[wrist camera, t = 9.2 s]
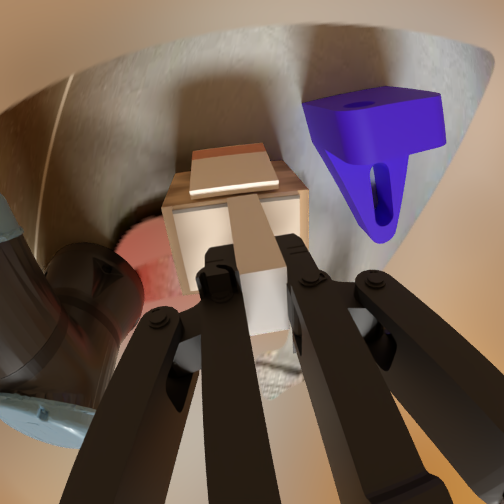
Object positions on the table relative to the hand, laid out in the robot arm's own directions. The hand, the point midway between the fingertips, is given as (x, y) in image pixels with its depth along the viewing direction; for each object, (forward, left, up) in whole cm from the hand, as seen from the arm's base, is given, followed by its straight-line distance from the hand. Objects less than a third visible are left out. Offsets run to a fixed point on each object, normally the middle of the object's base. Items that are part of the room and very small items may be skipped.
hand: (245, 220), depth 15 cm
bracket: (+16, -3, -19) cm, 25 cm away
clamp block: (0, -6, -19) cm, 20 cm away
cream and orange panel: (0, -1, -13) cm, 13 cm away
